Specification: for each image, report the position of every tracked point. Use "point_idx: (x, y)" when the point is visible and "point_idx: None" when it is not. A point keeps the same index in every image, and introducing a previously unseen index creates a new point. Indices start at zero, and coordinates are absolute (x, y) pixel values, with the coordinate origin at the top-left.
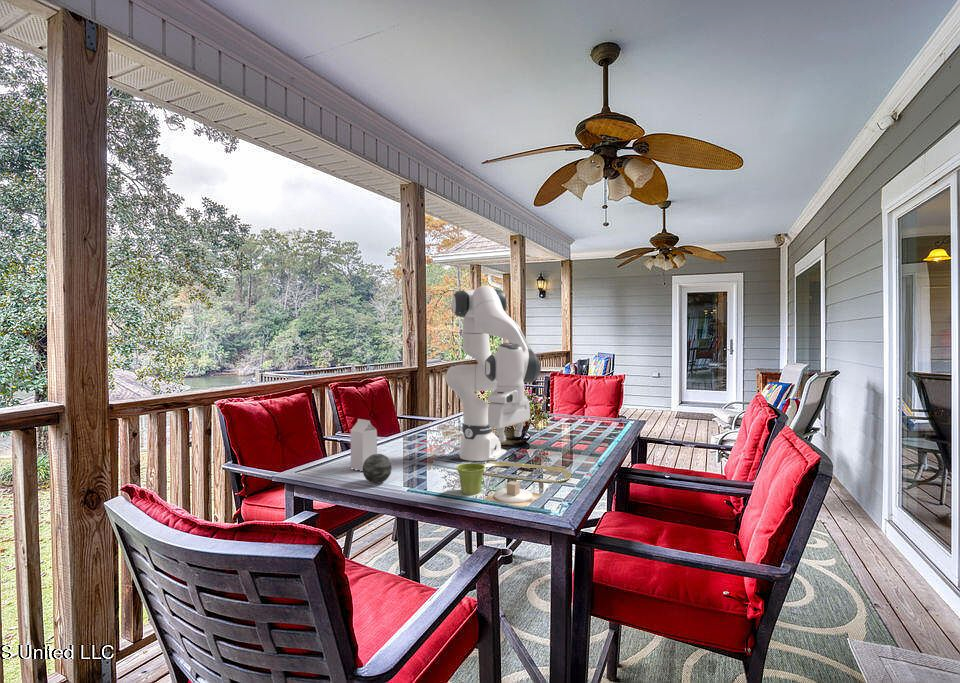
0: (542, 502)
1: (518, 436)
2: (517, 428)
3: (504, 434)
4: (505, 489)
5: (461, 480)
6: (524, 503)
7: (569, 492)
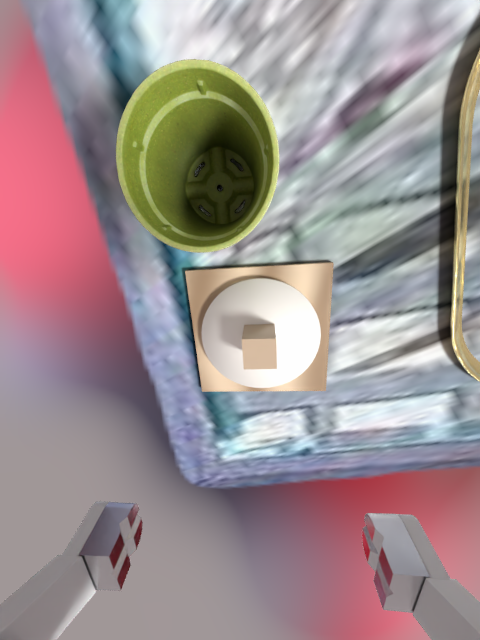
0: (277, 403)
1: (364, 540)
2: (452, 624)
3: (79, 610)
4: (285, 295)
5: (160, 159)
6: (228, 383)
7: (391, 426)
